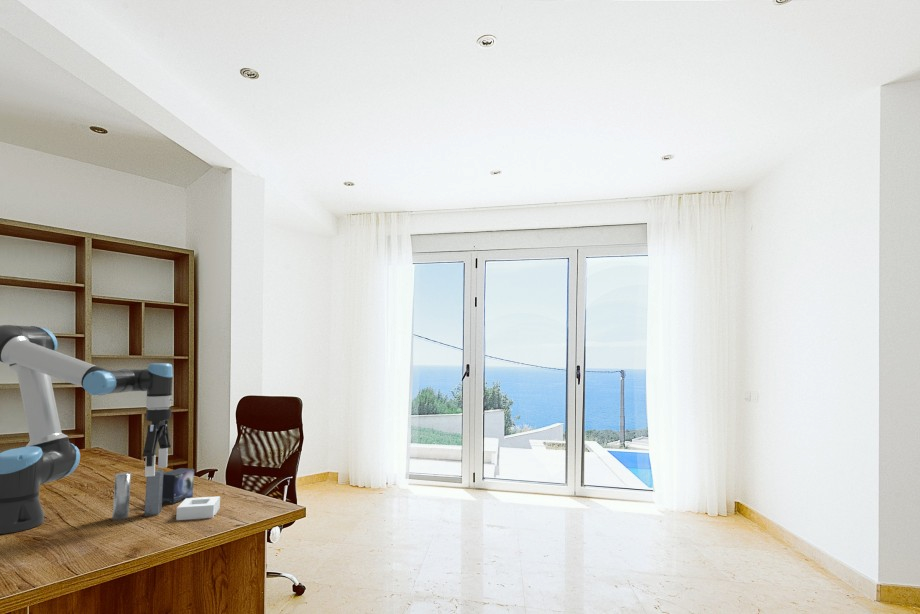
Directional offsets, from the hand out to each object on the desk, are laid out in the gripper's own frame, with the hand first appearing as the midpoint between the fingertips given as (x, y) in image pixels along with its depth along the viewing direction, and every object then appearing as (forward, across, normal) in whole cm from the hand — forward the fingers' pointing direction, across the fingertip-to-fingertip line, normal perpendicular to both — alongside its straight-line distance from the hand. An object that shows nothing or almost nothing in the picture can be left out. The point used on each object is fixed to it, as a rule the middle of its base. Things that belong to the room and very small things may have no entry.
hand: (156, 471), depth 175 cm
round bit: (+14, -2, +10) cm, 17 cm away
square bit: (+14, 0, +1) cm, 14 cm away
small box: (+14, +16, -2) cm, 21 cm away
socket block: (+14, -4, -14) cm, 20 cm away
